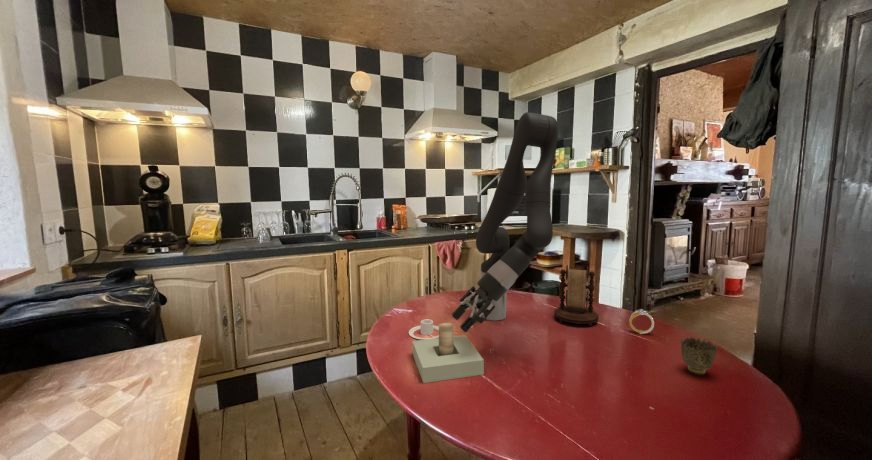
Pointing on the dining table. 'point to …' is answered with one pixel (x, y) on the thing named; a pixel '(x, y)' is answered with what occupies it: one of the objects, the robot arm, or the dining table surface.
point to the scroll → (576, 297)
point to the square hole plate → (447, 360)
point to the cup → (698, 355)
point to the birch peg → (445, 339)
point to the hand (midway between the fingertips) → (458, 323)
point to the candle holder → (424, 329)
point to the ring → (642, 312)
